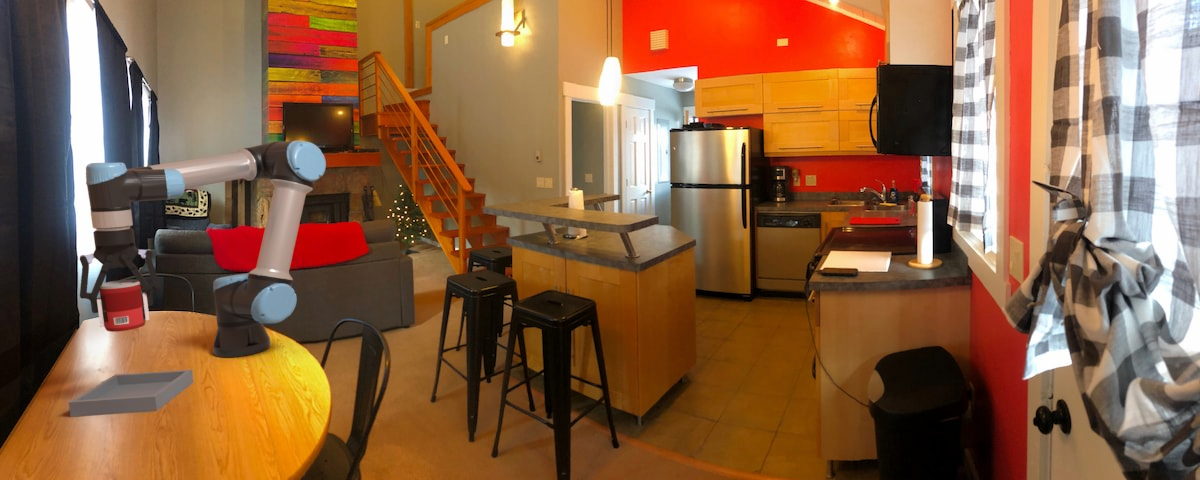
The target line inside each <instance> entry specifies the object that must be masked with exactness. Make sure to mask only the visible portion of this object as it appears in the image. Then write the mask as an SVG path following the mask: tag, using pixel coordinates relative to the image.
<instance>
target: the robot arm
mask: <svg viewBox="0 0 1200 480" xmlns="http://www.w3.org/2000/svg"><path fill="white" fill-rule="evenodd" d="M326 166H327V162H326V157H325V155H324V154H323V152H322V150H321V148H319V147H318V145H316V144H315V143H312V142H310V141H302V140H291V141H287V140H285V141H284V140H283V141H271V142H267V143H262V144H258V145H254V146H251V147H245V148H239V149H238V150H237V151H236V152H235V153H227V154H220V155H213V156H207V157H199V158H194V159H186V160H181V161H173V162H166V163H160V164H153V165H152V164H151V165H147V166H140V167H133V168H132V167H131V168H127V166H126V164H125V162H91V163H88V164H87V165H86V167H85V180H86V181H85V185H86V187H87V194H88V200H89V206H90V217H91V224H92V228H93V229H95V230H94V231H93V239H94V248H95V249H94V252H93V253H90V254H89V253H88V254H81V255H80V256H79V261H80V264H81V267H82V268H81V278H80V289H79V298H80V299H87V300H89V301H90V307H91V312H92V314H98V319H99V325H100V328H103V327H104V328H105V326H104V319H103V311H102V304H101V297H99V294H100V288H101V287H100V286H102V284H103V283H104V281H105V280H106V279H105V278H106V276H107V274H108V272H109V269H110V270H111V269H116V268H127V267H128V268H129V271H131V273H132V275H134V277H135V279H136V280H138V281H139V282H140V284H141V287H142V289H143V290H144V291H142V295H143V303H144V312H145V321H150V312H149V307H150V306H153V305H154V297H153V292H155V291H157V290H160V289H161V284H160V281H159V278H158V275H157V272H156V270H155V266H154V263H153V261H152V258H153V257H152V256H153V251H152V249H150V248H148V249H147V248H146V249H139V248H138V247H137V246H136V241H135V231H134V229H133V228H132V226H133V225H134V224H133V214H132V205H131V203H133V202H144V201H147V202H148V201H149V202H150V201H162V200H166V201H169V200H174V199H179V198H181V197H183V195H184V194H185V190H186V189H191V188H197V187H203V186H207V185H212V184H219V183H226V182H230V181H236V180H240V179H244V180H246V181H253V180H254V181H255V180H269V182H270V183H271V184H272V185H273V188H274V189H273V194H272V197H271V202H270V206H269V210H268V214H267V219H266V224H265V227H264V232H263V237H262V241H261V245H260V250H259V254H258V258H257V263H256V267H255V268H253V269H252V270H250V271H249V272H247V273H239V274H233V275H227V276H222V277H217V278H216V279H215V280H213V283H212V284H213V286H212V287H213V291H212V293H213V297H214V299H213V300H214V306H215V315H216V327H217V329H216V333H215V337H214V341H213V345H212V352H213V356H216V357H219V358H237V357H245V356H250V355H254V354H257V353H261V352H264V351H265V350H268V349H269V348H270V347H271V338H270V336H269V334H268V331H267V330H266V327H265V326H264V324H277V323H280V322H283V321H284V320H285V319H287V318H289V316H291V315H292V313H293V312H294V310H295V309H296V306H297V302H298V300H297V298H298V297H297V294H296V292H295V290H294V288H293V287H292V285H293V281H294V279H293V276H291V273H290V272H289V271H290V268H291V264H292V260H293V254H294V249H295V246H296V241H297V238H298V237H297V236H298V232H299V227H300V224H301V218H302V214H303V209H304V206H305V200H306V196H307V194H309V193H310V192H312V191H313V189H314V186H315V182H316V181H317V180H319V179H320V178H322V177H323V176H324V174H325V172H326V168H327V167H326ZM138 255H140V257H141V258H142V259H144V261H145V264H146V267H147V270H148V273H149V275H150V276H149V277H150V279H151V281H152V285H150V284H149V283H148V282H147V279H145V277H144V276H143V274H142V273H141V272H140V270H139V269H138V267H137V266H136V265H135V263H134V262H133V261H134V260H135V259H136V257H137V256H138ZM93 259H96V260H97V261H99V263H101V268H100V270H99V272H98V275H97V277H96V280H95V282H94V285H93V288H92V290H91V292H88V285H89V283H88V282H89V273H90V265H91V264H92V263H93V261H94V260H93Z"/></svg>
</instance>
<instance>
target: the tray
mask: <svg viewBox="0 0 1200 480" xmlns="http://www.w3.org/2000/svg"><path fill="white" fill-rule="evenodd" d="M192 384H194V374H193V370H192V369H182V370H168V371H153V372H151V371H150V372H149V371H148V372H135V373H133V372H132V373H119V374H117V373H116V374H114V375H112V376H110V377H109V378H107V379H106V380H104V381H102V382H101V383H99V384H97V385H95V386H93V387H92V388H90V389H89V390H87V391H85V392H84V393H82V394H81V395H80V394H79V396H77V397H75V398H73V399H72V400H70V401H68V409H69V415H70V418H74V417H75V418H76V417H77V418H78V417H87V416H88V417H90V416H104V415H117V414H131V413H132V414H133V413H144V412H157V411H159V410H160V409H162V408H163V407H164V406H165V405H166V404H168V403H169V402H171V401H172V400H173V399H175V397H177V396H178V395H180V394H181V393H182V392H183V391H185V390H186V389H187V388H188V387H189V386H191V385H192Z"/></svg>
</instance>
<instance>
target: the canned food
mask: <svg viewBox="0 0 1200 480" xmlns="http://www.w3.org/2000/svg"><path fill="white" fill-rule="evenodd" d="M100 287H101V288H100V291H99V298H101V304H102V311H103V319H104V328H105V330H106V331H107V332H110V333H113V332H126V331H131V330H135V329H139V328H141V327H144V326H145V324H146V320H145V312H144V303H143V295H142V292H143V287H142V285H141V284H140V282H139V281H138V280H137V278H135V279H132V278H130V279H119V280H113V281H106V282H103V284H102V286H100Z"/></svg>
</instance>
